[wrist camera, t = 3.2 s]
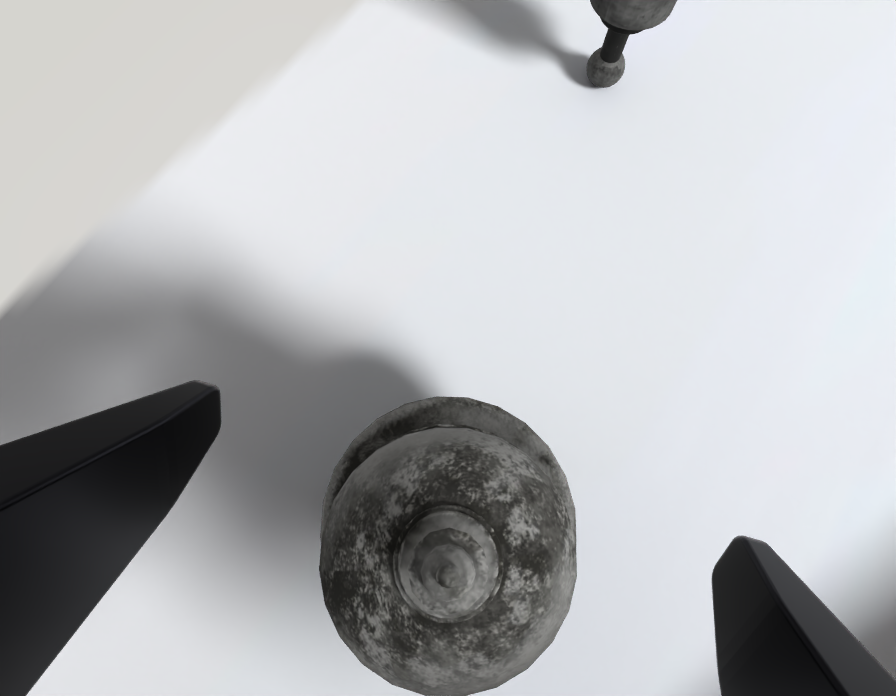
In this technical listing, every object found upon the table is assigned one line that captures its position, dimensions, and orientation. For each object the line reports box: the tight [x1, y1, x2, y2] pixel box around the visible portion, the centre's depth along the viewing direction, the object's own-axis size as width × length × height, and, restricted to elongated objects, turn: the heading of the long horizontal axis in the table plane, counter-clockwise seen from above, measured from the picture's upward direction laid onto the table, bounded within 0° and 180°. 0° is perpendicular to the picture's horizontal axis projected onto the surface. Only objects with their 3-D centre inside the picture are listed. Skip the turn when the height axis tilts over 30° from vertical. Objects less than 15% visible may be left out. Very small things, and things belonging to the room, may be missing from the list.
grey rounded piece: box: [319, 397, 577, 696], centre depth 10 cm, size 6×6×12 cm
